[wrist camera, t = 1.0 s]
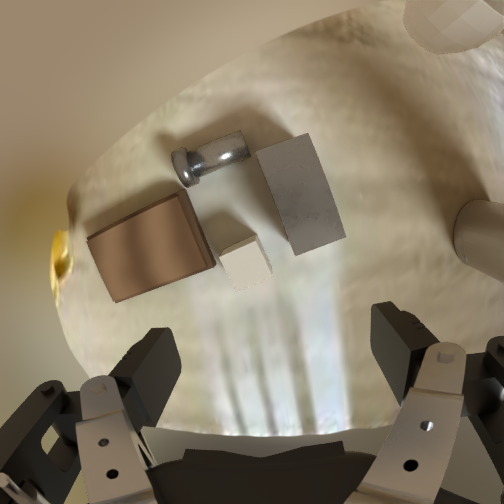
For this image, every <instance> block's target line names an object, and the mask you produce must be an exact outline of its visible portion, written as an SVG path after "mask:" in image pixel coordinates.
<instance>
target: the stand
mask: <svg viewBox="0 0 504 504" xmlns="http://www.w3.org/2000/svg"><path fill="white" fill-rule="evenodd" d="M87 240H88V241H87V244H88V247H89V249H90V252H91V254H92V256H93V259H94V261H95V263H96V266H97V268H98V270H99V273H100V275H101V277H102V279H103V281H104V283H105V286H106V288H107V290H108V292H109V294H110V296H111V298H112V300H113V302H114V301H115V303H118V302H121V301H123V300H126V299H129V298H132V297H134V296H137V295H140V294H143V293H145V292H148V291H151V290H153V289H156V288H159V287H162V286H164V285H167V284H170V283H172V282H175V281H178V280H181V279H183V278H186V277H189V276H192V275H194V274H197V273H200V272H202V271H205V270H208V269H211V268H213V267H214V266H215V265H216V262H215V259H214V257H213V255H212V252H211V250H210V247H209V245H208V243H207V240H206V238H205V235H204V233H203V231H202V228H201V226H200V223H199V221H198V218H197V216H196V213H195V211H194V208H193V206H192V203H191V201H190V198H189V196H188V193H187V191H186V190H181V191H179V192H177V193H174V194H172V195H170V196H168V197H166V198H164V199H161V200H159V201H157V202H155V203H153V204H151V205H149V206H147V207H145V208H143V209H141V210H139V211H137V212H135V213H133V214H131V215H129V216H127V217H125V218H123V219H121V220H119V221H117V222H115V223H113V224H111V225H109V226H107V227H106V228H104V229H102V230H100V231H98V232H96V233H94V234H93V235H91V236H89V237H87Z"/></svg>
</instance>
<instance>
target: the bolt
mask: <svg viewBox="0 0 504 504" xmlns="http://www.w3.org/2000/svg"><path fill="white" fill-rule="evenodd" d="M248 157H251V155H250V152H249V150H248V147H247V145H246V142H245V140H244V138H243V135H242V133H241V131H240V130H239V131H237V132H234V133H232V134H229V135H227V136H224V137H222V138H219V139H217V140H214V141H212V142H210V143H207V144H205V145H203V146H200V147H198V148H196V149H194V150H191V151H189V152H188V150H187V149H186V148H185V147H182V148H179V149H177V150H175V151H173V152H172V153H171V158H172V162H173V166H174V169H175V171H176V173H177V175H178V177H179V179H180V181H181V182H182V184H183V185H184V186H185V187H187V188H189V187H191V186H193V185H196V184H198V183H199V177H201V176H204V175H206V174H208V173H211V172H213V171H216V170H218V169H220V168H223V167H225V166H228V165H230V164H233V163H235V162H238V161H240V160H243V159H245V158H248Z"/></svg>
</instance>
